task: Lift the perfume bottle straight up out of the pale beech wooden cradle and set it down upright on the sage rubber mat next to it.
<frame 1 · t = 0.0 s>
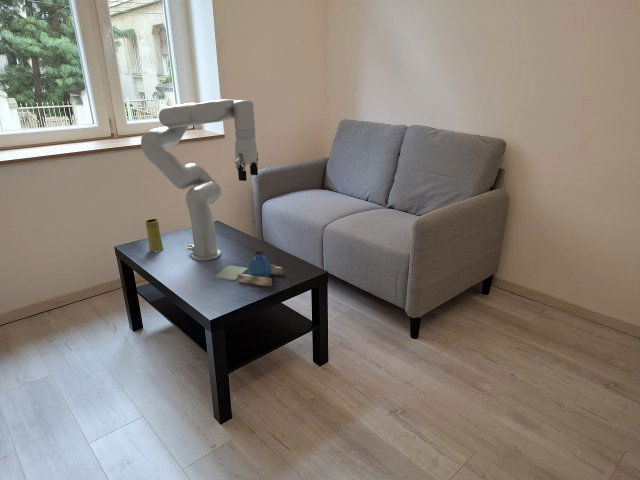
hand: (248, 177, 176), 37 cm above the table, tool pointing down, fingers open, 9 cm apart
vase: (156, 250, 203), on the table
perfume bottle: (260, 278, 175), on the table
cradle: (260, 277, 175), on the table
mat: (231, 273, 179), on the table
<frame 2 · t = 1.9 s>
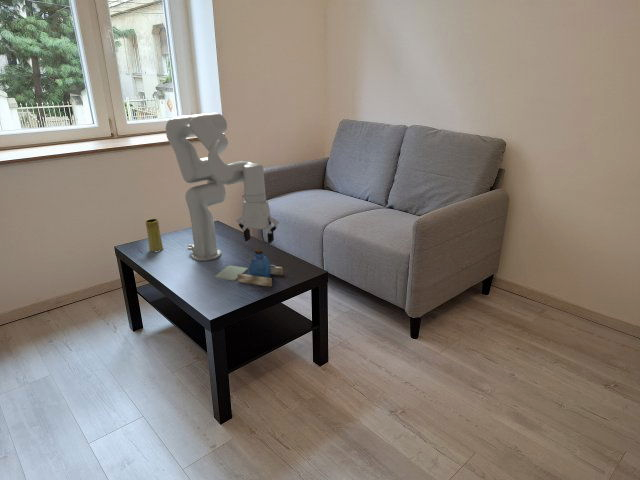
hand: (259, 241, 169), 16 cm above the table, tool pointing down, fingers open, 9 cm apart
nothing on the table moved.
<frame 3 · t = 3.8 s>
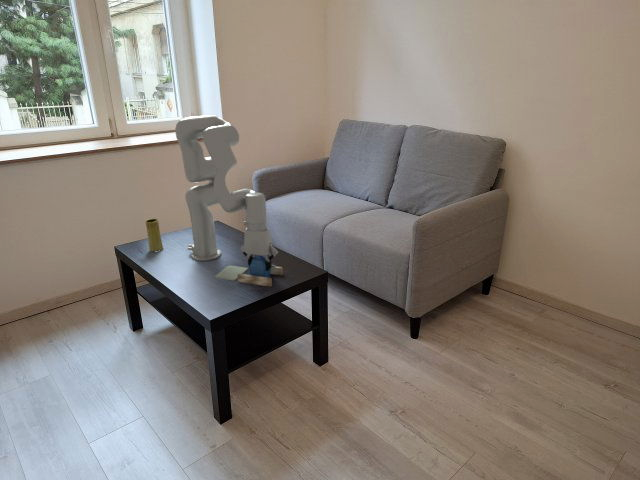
hand: (260, 268, 173), 4 cm above the table, tool pointing down, fingers closed on perfume bottle, 6 cm apart
perfume bottle: (260, 278, 175), on the table, touching gripper
everything else where it was.
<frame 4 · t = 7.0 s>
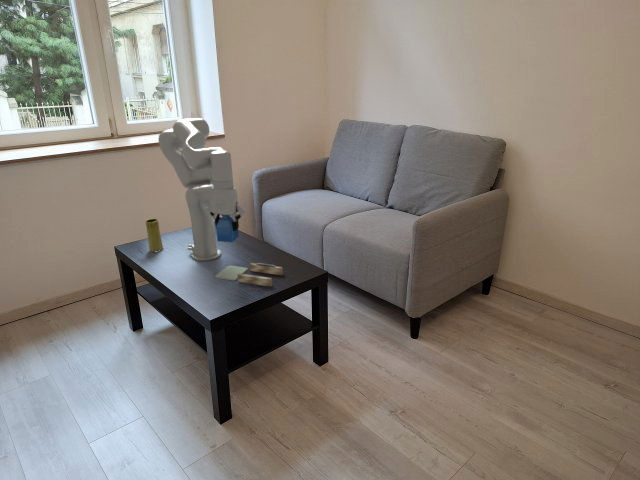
hand: (227, 228, 172), 19 cm above the table, tool pointing down, fingers closed on perfume bottle, 6 cm apart
perfume bottle: (228, 239, 173), point 15 cm above the table, touching gripper
everything else where it was.
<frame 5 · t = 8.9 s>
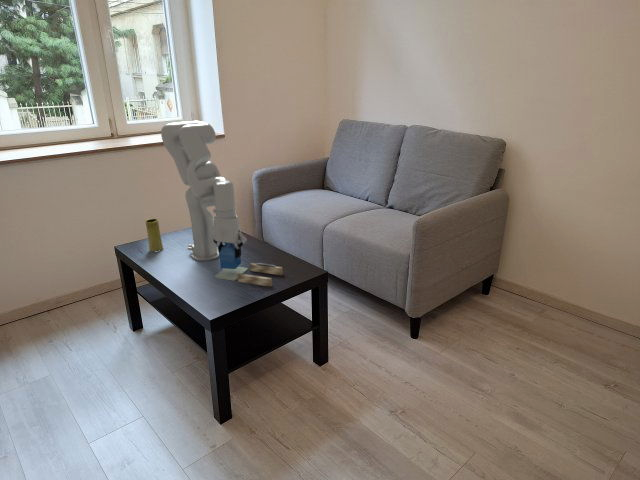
hand: (230, 255, 176), 8 cm above the table, tool pointing down, fingers closed on perfume bottle, 6 cm apart
perfume bottle: (231, 265, 177), point 3 cm above the table, touching gripper
everything else where it was.
when the fingers open (6 cm above the table, at t = 10.3 s): perfume bottle drops 1 cm, resting on mat.
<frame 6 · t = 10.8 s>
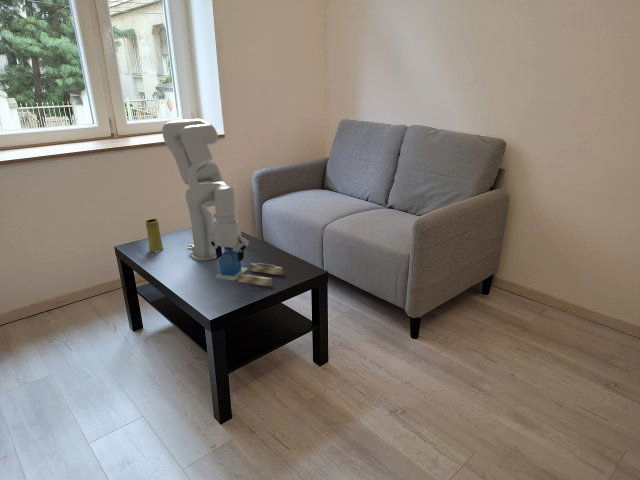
hand: (230, 258, 176), 7 cm above the table, tool pointing down, fingers open, 9 cm apart
perfume bottle: (231, 272, 179), resting on mat
everything else where it was.
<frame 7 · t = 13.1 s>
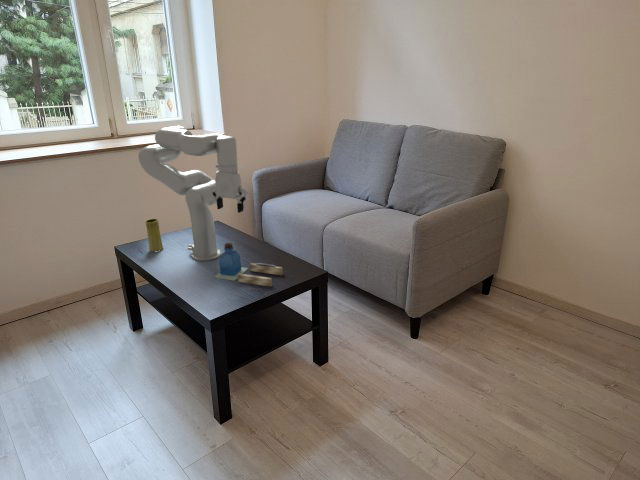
hand: (230, 210, 179), 24 cm above the table, tool pointing down, fingers open, 9 cm apart
nothing on the table moved.
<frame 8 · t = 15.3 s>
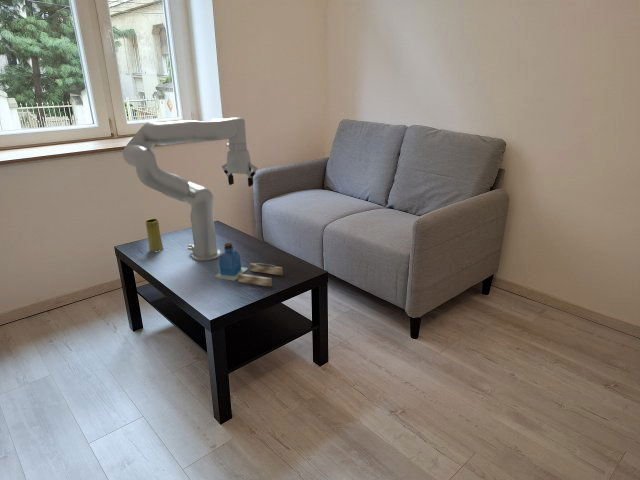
hand: (241, 185, 199), 28 cm above the table, tool pointing down, fingers open, 9 cm apart
nothing on the table moved.
at the end: perfume bottle inside the target area (0.3 cm from its centre), resting on mat; perfume bottle tilted 0°; the gripper is holding nothing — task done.
